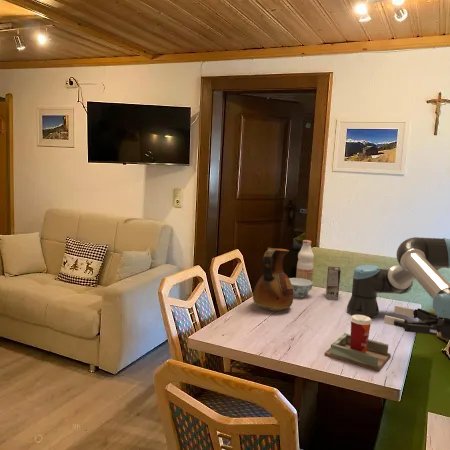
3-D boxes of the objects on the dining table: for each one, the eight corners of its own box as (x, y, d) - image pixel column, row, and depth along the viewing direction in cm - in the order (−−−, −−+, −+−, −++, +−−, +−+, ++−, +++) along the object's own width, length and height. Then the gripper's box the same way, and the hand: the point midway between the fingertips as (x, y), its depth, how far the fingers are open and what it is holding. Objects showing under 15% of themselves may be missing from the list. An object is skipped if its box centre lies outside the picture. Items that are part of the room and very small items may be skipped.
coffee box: (338, 300, 232) (340, 270, 230) (326, 299, 234) (328, 269, 231) (337, 295, 241) (339, 267, 239) (325, 294, 243) (327, 265, 240)
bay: (339, 341, 177) (340, 331, 176) (390, 356, 166) (391, 344, 165) (324, 355, 164) (325, 343, 163) (378, 371, 152) (379, 359, 152)
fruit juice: (294, 289, 249) (298, 241, 245) (295, 285, 258) (299, 238, 254) (311, 291, 247) (315, 242, 243) (311, 286, 256) (315, 240, 252)
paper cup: (368, 359, 160) (372, 322, 158) (347, 355, 162) (350, 319, 160) (368, 350, 167) (371, 315, 165) (347, 347, 169) (350, 312, 167)
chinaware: (283, 290, 246) (284, 277, 245) (310, 292, 245) (311, 279, 244) (284, 298, 231) (285, 284, 230) (313, 300, 230) (314, 286, 229)
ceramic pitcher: (298, 306, 219) (303, 248, 214) (281, 317, 202) (286, 254, 198) (264, 298, 229) (267, 242, 225) (245, 308, 212) (248, 248, 208)
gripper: (448, 353, 134) (378, 334, 146) (459, 329, 155) (397, 314, 167) (451, 330, 133) (381, 313, 145) (462, 309, 153) (399, 295, 165)
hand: (389, 313), depth 156 cm, fingers open, 13 cm apart
